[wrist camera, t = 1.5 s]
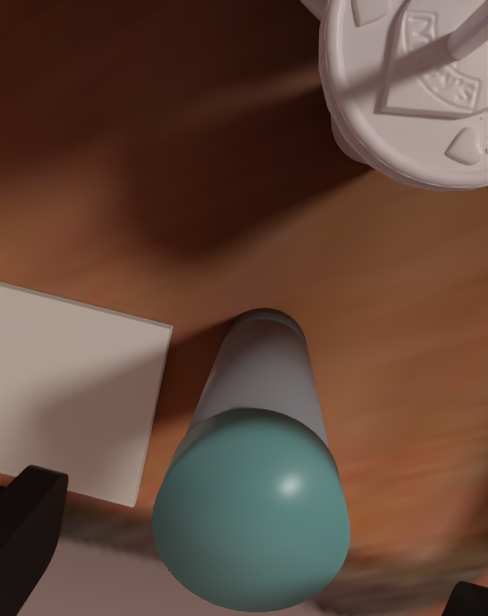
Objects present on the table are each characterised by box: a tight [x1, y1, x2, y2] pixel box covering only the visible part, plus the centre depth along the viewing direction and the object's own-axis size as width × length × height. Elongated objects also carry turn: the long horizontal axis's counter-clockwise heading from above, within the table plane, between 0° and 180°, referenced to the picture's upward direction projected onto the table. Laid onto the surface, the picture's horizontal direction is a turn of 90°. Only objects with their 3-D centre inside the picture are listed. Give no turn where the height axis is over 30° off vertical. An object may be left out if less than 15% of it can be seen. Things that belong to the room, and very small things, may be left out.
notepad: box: [0, 282, 173, 507], centre depth 22 cm, size 10×15×1 cm, turn 76°
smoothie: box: [319, 0, 488, 191], centre depth 11 cm, size 6×6×14 cm
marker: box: [152, 308, 350, 612], centre depth 15 cm, size 4×4×12 cm
